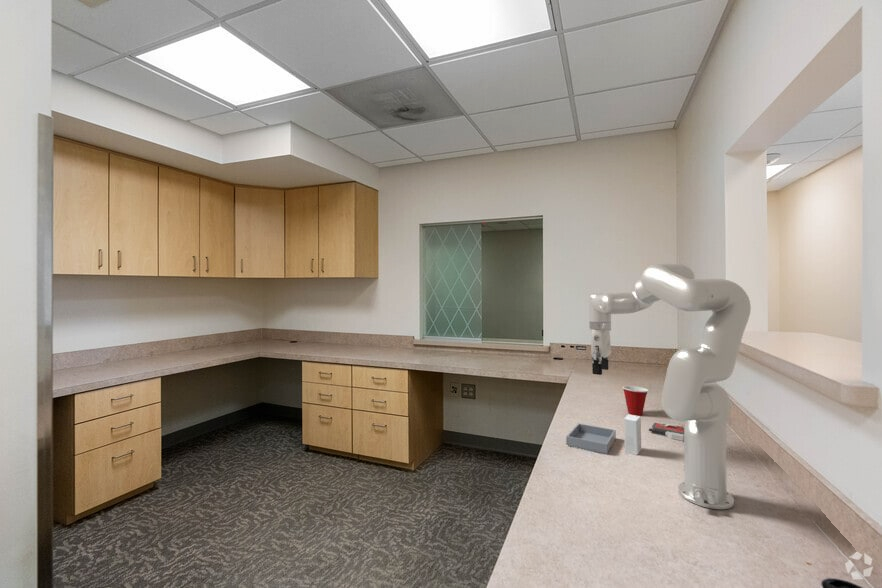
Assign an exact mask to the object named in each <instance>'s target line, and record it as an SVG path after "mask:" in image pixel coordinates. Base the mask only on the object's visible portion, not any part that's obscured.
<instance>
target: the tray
mask: <svg viewBox="0 0 882 588" xmlns="http://www.w3.org/2000/svg"><path fill="white" fill-rule="evenodd" d="M565 438H566V439H565V440H566V441H565V442H566V445H568V446H567V447H569V446H572V447H571V448H574V447H577V448H576V449H579V448H581V449H580V450H583V449H584V451H589V452H594V453H598V454H603V455H607V456H608V454H609V452H610V450H611V449H612V447H613V445H614V443H615V442H616V439H617V431H616V429H612V428H605V427H600V426H594V425H590V424H584V423H577V424H576V425H575V426H574V428H572V429H571V430H570V431H569V433H568V434H567V435H566V437H565Z"/></svg>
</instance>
